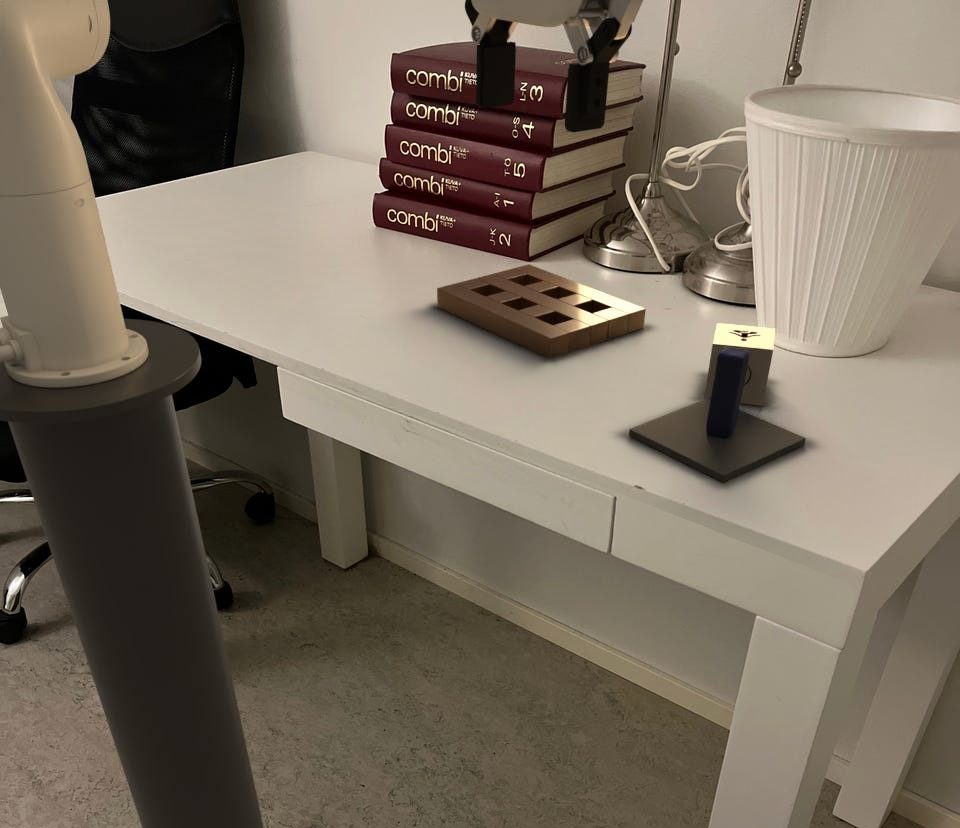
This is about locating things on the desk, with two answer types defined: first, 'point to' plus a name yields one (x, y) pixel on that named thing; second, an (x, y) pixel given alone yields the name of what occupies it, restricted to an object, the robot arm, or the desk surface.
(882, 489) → the desk surface
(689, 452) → the coaster
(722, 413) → the eraser
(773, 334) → the dice cube
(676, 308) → the desk surface
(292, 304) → the desk surface
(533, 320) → the holder
